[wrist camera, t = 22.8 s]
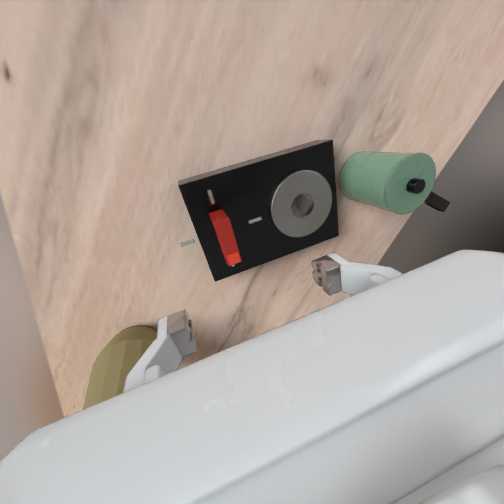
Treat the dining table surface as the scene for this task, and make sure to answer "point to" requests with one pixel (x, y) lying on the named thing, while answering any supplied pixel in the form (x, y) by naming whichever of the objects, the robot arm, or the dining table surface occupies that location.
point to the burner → (300, 203)
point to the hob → (255, 206)
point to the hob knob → (225, 237)
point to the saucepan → (391, 181)
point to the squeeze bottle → (117, 363)
